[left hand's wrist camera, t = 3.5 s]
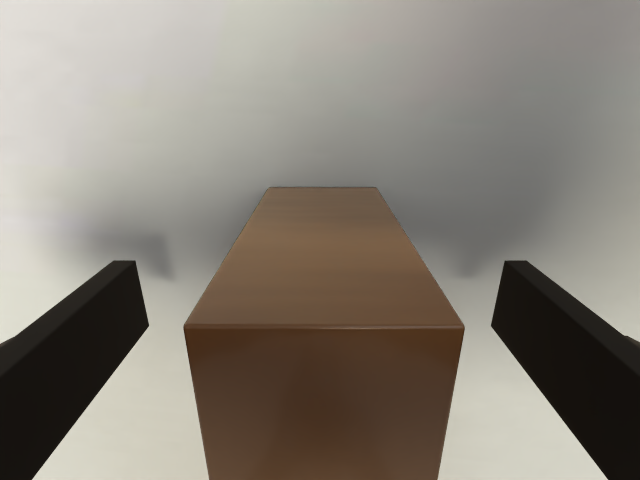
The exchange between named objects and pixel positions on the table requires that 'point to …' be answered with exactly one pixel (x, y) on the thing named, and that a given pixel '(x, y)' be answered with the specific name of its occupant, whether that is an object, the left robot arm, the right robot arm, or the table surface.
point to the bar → (323, 345)
